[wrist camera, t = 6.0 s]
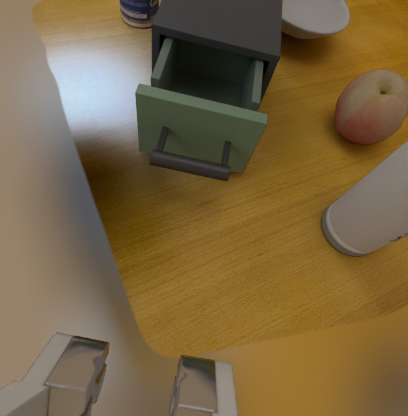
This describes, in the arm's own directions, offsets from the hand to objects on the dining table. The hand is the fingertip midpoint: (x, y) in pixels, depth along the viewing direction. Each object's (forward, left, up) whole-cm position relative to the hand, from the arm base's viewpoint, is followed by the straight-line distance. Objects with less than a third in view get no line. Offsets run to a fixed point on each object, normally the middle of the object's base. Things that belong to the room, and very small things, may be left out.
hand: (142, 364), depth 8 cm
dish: (+11, +50, -17) cm, 54 cm away
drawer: (0, +24, -15) cm, 28 cm away
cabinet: (0, +34, -16) cm, 38 cm away
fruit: (+20, +30, -17) cm, 40 cm away
